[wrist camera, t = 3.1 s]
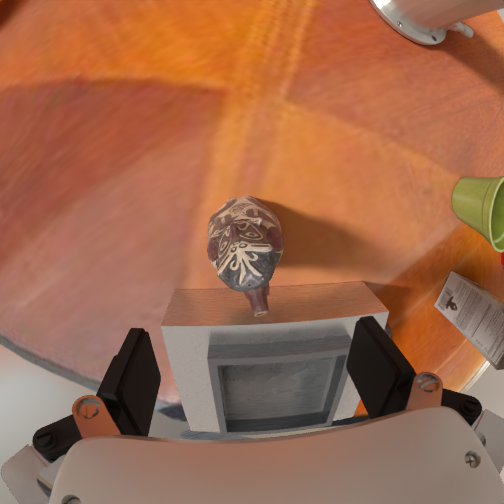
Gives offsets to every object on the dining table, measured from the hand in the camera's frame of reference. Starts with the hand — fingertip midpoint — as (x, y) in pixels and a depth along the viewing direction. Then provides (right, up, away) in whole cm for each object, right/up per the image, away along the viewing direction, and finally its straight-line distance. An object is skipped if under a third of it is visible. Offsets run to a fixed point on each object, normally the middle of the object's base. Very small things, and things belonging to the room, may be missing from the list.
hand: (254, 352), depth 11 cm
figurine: (-1, +7, +17) cm, 18 cm away
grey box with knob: (+4, -8, +22) cm, 24 cm away
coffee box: (+32, -2, +22) cm, 39 cm away
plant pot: (+29, +12, +17) cm, 35 cm away
